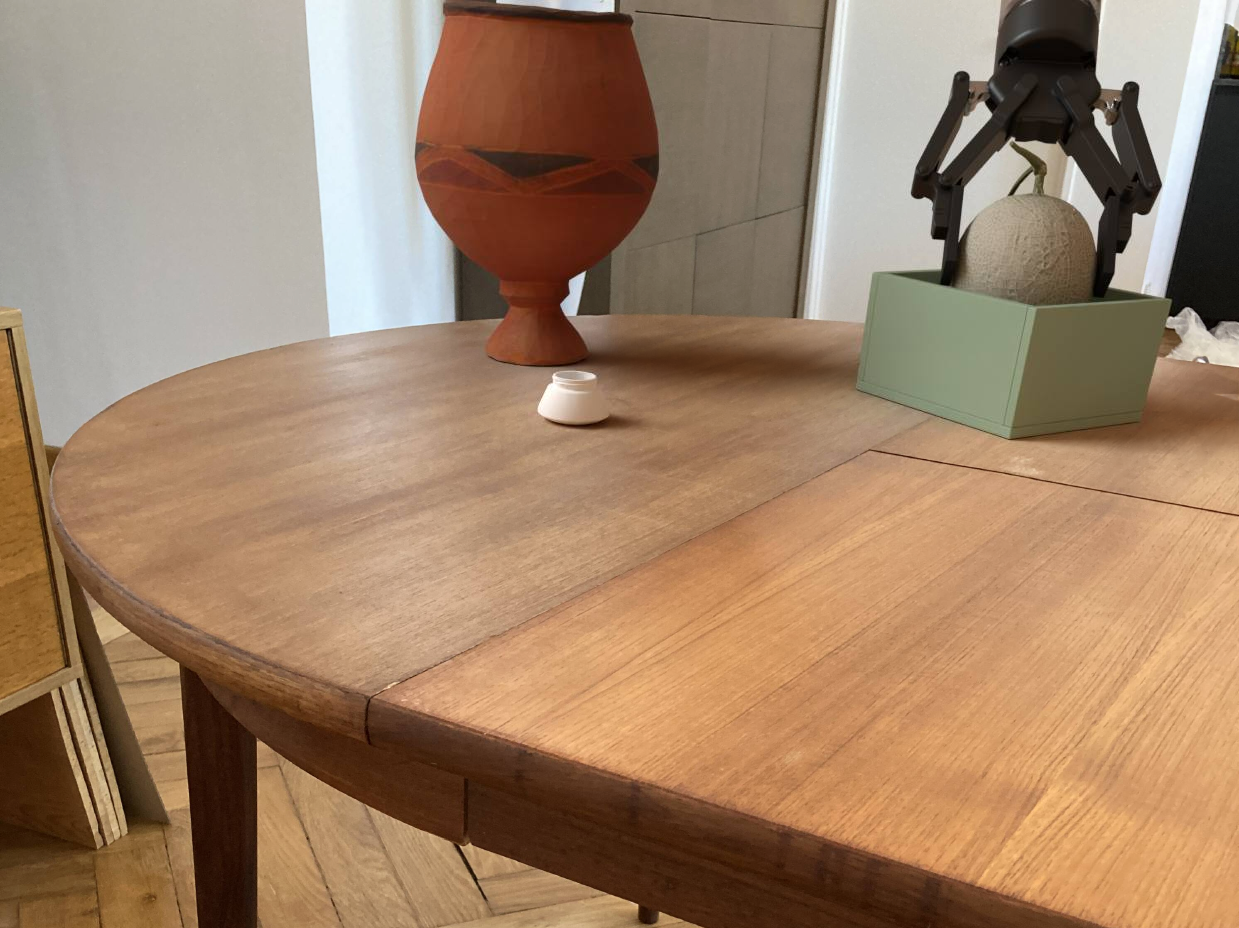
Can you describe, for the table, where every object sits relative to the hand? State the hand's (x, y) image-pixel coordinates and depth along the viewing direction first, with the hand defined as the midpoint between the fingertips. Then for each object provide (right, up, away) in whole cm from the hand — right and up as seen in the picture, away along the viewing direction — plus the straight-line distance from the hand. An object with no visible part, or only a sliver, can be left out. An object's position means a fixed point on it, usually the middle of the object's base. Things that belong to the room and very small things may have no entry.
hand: (1025, 279), depth 91 cm
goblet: (-37, 0, +15) cm, 40 cm away
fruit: (0, -4, +6) cm, 7 cm away
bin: (0, -7, +7) cm, 10 cm away
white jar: (-33, -11, -3) cm, 35 cm away
